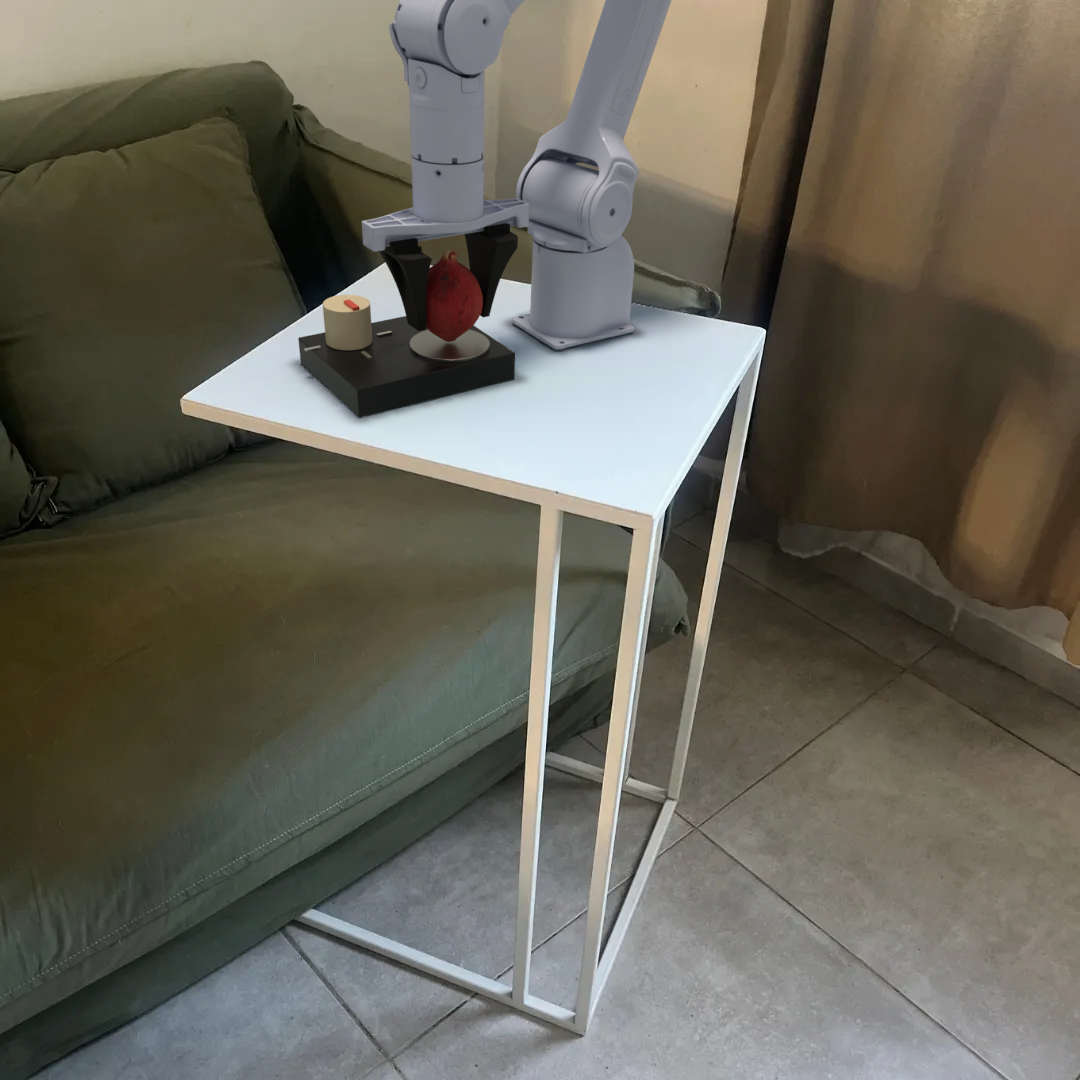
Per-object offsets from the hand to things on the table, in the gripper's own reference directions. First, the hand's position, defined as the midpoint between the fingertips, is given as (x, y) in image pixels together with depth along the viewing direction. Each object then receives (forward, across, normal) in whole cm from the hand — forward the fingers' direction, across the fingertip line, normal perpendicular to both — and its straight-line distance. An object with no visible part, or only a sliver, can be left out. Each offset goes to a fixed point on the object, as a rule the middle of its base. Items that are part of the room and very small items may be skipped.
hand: (449, 319), depth 87 cm
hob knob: (+2, +7, -5) cm, 9 cm away
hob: (+5, +3, -2) cm, 6 cm away
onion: (+2, 0, 0) cm, 2 cm away
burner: (+2, 0, 0) cm, 2 cm away
